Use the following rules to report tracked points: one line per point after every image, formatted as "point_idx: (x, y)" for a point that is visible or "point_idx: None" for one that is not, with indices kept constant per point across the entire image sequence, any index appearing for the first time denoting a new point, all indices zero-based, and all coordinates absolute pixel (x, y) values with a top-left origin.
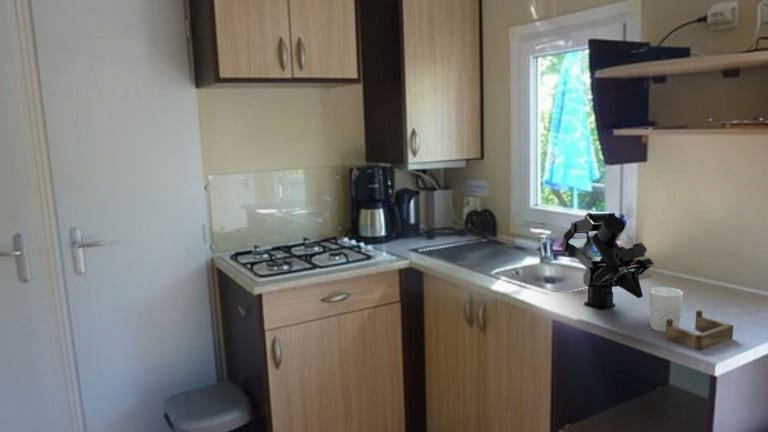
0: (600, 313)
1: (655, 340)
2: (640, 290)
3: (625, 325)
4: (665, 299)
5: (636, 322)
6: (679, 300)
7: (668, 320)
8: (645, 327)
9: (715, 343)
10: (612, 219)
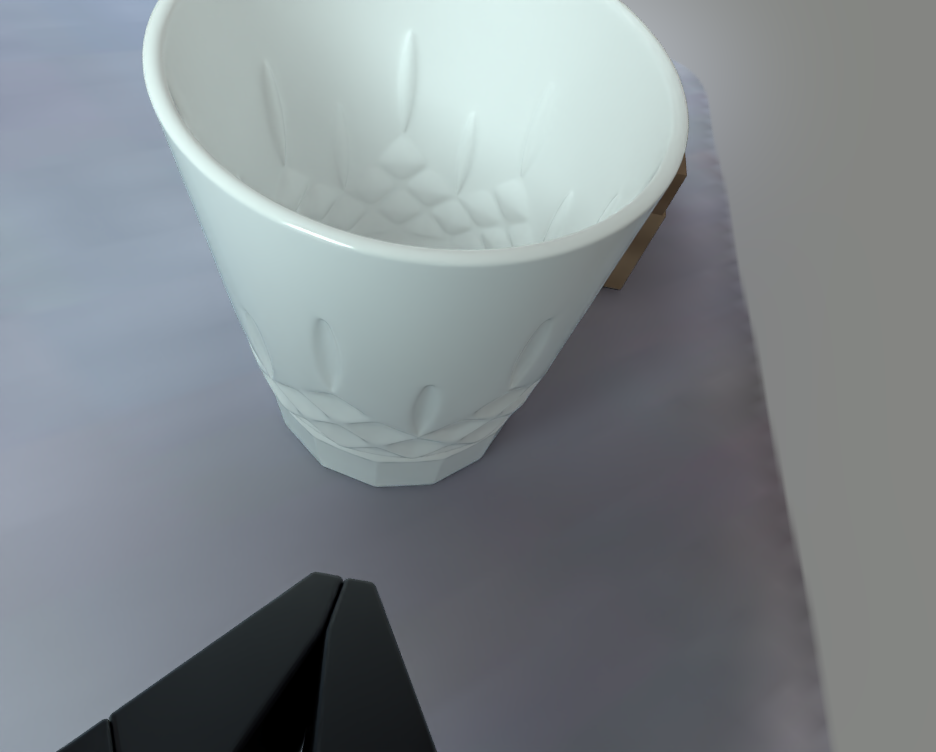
0: None
1: (696, 326)
2: (280, 629)
3: (615, 675)
4: (621, 77)
5: (442, 639)
6: (461, 7)
7: (683, 163)
8: (510, 498)
9: None
10: None
